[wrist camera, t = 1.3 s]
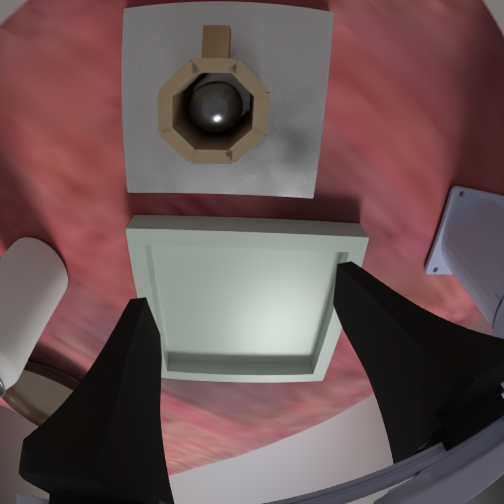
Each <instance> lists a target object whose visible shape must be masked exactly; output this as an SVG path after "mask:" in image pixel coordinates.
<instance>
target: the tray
mask: <svg viewBox="0 0 504 504" xmlns="http://www.w3.org/2000/svg"><path fill="white" fill-rule="evenodd" d="M126 235H127V241H128V248H129V254H130V260H131V265H132V271H133V277H134V282H135V287H136V292H137V297H138V298H142V297H146V299H147V301H148V304H149V307H150V309H151V312H152V314H153V317H154V320H155V322H156V325H157V327H158V330H159V332H160V335H161V350H162V370H161V378H170V379H183V380H198V381H219V382H305V381H323V378H324V376H325V373H326V371H327V368H328V365H329V363H330V360H331V357H332V355H333V352H334V349H335V346H336V344H337V341H338V338H339V335H340V332H341V329H342V326H341V324H340V321H339V318H338V316H337V313H336V311H335V308H334V305H333V297H334V289H335V280H336V270H337V264H339V263H345V262H350V261H352V262H354V263H355V264H357V265H358V266H360V267H361V266H362V262H363V259H364V255H365V252H366V248H367V244H368V241H369V236H368V235H367V233H366V232H365V230H364V229H363V227H362V226H361V224H358V223H342V222H326V221H308V220H289V219H267V218H243V217H213V216H175V215H134V216H133V217H132V219H131V221H130V222H129V224H128V225H127V227H126Z"/></svg>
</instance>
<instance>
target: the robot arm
mask: <svg viewBox="0 0 504 504" xmlns="http://www.w3.org/2000/svg"><path fill="white" fill-rule="evenodd" d="M461 191H462V193H461V195H459V194H460V192H461ZM434 268H435V269H434ZM433 269H434V270H433ZM425 272H426V273H427V274H453V275H454V276H455V277H456V278H457V280H458V281H459V282H460V284H461V285H462V286H463V288H464V289H465V290H466V292H467V293H468V294H469V296H470V297H471V299H472V300H473V301H474V303H475V304H476V305H477V307H478V308H479V310H480V311H481V313H482V314H483V315H484V317H485V318H486V320H487V321H488V323H489V324H490V326H491V327H492V329H493V332H492V334H491V335H486V334H483V333H480V332H476V331H473V330H470V329H467V328H465V327H462V326H459V325H457V324H455V323H452V322H450V321H447V320H445V319H443V318H441V317H439V316H437V315H435V314H433V313H431V312H429V311H427V310H425V309H423V308H421V307H419V306H418V305H416V304H414V303H413V302H411V301H409V300H408V299H406V298H405V297H403V296H401V295H400V294H398V293H397V292H395V291H394V290H392V289H391V288H389V287H388V286H386V285H385V284H384V283H382V282H381V281H379V280H378V279H376V278H375V277H374V276H372V275H371V274H369V273H368V272H367V271H365V270H364V269H362V268H361V267H360V266H358V265H357V264H355V263H354V262H352V261H350V262H345V263H339V264H337V270H336V280H335V289H334V297H333V305H334V308H335V311H336V313H337V316H338V318H339V321H340V324H341V326H342V328H343V330H344V332H345V333H346V335H347V337H348V339H349V341H350V343H351V345H352V346H353V348H354V350H355V352H356V354H357V356H358V358H359V360H360V361H361V363H362V365H363V367H364V369H365V371H366V373H367V376H368V378H369V380H370V383H371V386H372V388H373V391H374V394H375V397H376V399H377V402H378V405H379V408H380V411H381V414H382V418H383V421H384V425H385V428H386V432H387V436H388V440H389V444H390V449H391V453H392V458H393V463H394V465H391V466H389V467H387V468H384V469H382V470H379V471H376V472H374V473H371V474H368V475H366V476H363V477H361V478H358V479H355V480H352V481H349V482H346V483H343V484H339V485H336V486H333V487H330V488H326V489H323V490H319V491H316V492H312V493H308V494H304V495H300V496H296V497H292V498H288V499H283V500H278V501H273V502H269V503H264V504H345V503H349V502H352V501H354V500H357V499H360V498H363V497H366V496H368V495H371V494H373V493H376V492H379V491H381V490H384V489H386V488H388V487H391V486H393V485H395V484H397V483H400V482H402V481H404V480H407V479H409V478H411V477H413V476H414V478H412V479H411V480H409V481H407V482H405V483H403V484H401V485H399V486H397V487H395V488H393V489H391V490H389V491H388V493H387V494H386V495H384V496H383V497H381V498H379V499H378V500H376V501H374V503H373V504H465V503H466V502H467V501H469V500H470V499H472V498H473V497H475V496H476V495H477V494H479V493H480V492H481V491H483V490H484V489H485V488H487V487H488V486H489V485H490V484H492V483H493V482H494V481H496V480H497V479H498V478H499V477H500V476H502V475H503V474H504V196H503V195H499V194H494V193H490V192H485V191H480V190H476V189H471V188H466V187H461V186H454V187H452V189H451V191H450V194H449V198H448V201H447V204H446V208H445V211H444V214H443V217H442V220H441V224H440V227H439V230H438V233H437V235H436V238H435V241H434V244H433V247H432V250H431V252H430V255H429V258H428V260H427V263H426V266H425ZM161 370H162V350H161V335H160V332H159V330H158V327H157V325H156V322H155V320H154V317H153V314H152V312H151V309H150V307H149V304H148V301H147V299H146V297H142V298H136V299H130V301H129V302H128V304H127V306H126V308H125V310H124V311H123V313H122V315H121V317H120V319H119V321H118V323H117V325H116V326H115V328H114V330H113V332H112V334H111V335H110V337H109V339H108V341H107V342H106V344H105V346H104V347H103V349H102V351H101V352H100V354H99V356H98V357H97V359H96V360H95V362H94V364H93V365H92V367H91V368H90V370H89V371H88V372H87V374H86V375H85V377H84V378H83V379H82V381H81V382H80V383H79V385H78V386H77V387H76V388H75V389H74V391H73V392H72V393H71V394H70V395H69V397H68V398H67V399H66V400H65V401H64V402H63V404H62V405H61V406H60V407H59V408H58V409H57V410H56V411H55V412H54V413H53V414H52V415H51V416H50V417H49V418H48V419H47V420H46V421H45V422H44V423H43V424H41V425H40V426H39V427H38V428H37V429H36V430H34V431H33V432H32V433H31V434H30V435H29V436H28V437H26V438H25V439H24V440H23V445H22V451H21V458H20V465H19V474H20V476H21V477H22V478H23V479H25V480H26V481H27V482H29V483H31V484H33V485H35V486H36V487H38V488H40V489H42V490H44V491H45V492H48V493H49V494H50V497H49V500H46V499H43V498H39V497H35V496H30V495H26V494H22V493H18V494H17V502H16V504H174V500H173V496H172V491H171V487H170V483H169V477H168V472H167V466H166V461H165V454H164V447H163V439H162V430H161V420H160V395H161Z"/></svg>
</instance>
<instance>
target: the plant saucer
mask: <svg viewBox="0 0 504 504" xmlns="http://www.w3.org/2000/svg"><path fill="white" fill-rule="evenodd" d="M79 383H80V381H78V380H76V379H75V378H73V377H71V376H69V375H67V374H65V373H63V372H61V371H58V370H56V369H53V368H51V367H48V366H45V365H41V364H38V363H32V362H27V363H26V365H25V367H24V369H23V371H22V373H21V375H20V377H19V379H18V380H17V382H16V383H15V384H14V385H12V386H11V387H9V388H8V389H7V390H6V393H5V395H4V396H3V397H2V399H3V400H4V401H5V402H6V403H7V404H8V405H9V406H10V407H11V408H12V409H14V410H15V411H16V412H17V413H19V414H20V415H21V416H23V417H24V418H25V419H27V420H28V421H30V422H31V423H33V424H35V425H37V426H38V427H39V426H40V425H41V424H43V423H44V422H45V421H46V420H47V419H48V418H49V417H50V416H51V415H52V414H53V413H54V412H55V411H56V410H57V409H58V408H59V407H60V406H61V405H62V404H63V402H64V401H65V400H66V399H67V398H68V397H69V395H70V394H71V393H72V392H73V391H74V389H75V388H76V387H77V386H78V385H79Z"/></svg>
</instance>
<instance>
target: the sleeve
mask: <svg viewBox="0 0 504 504" xmlns="http://www.w3.org/2000/svg"><path fill="white" fill-rule="evenodd" d="M230 46H231V28H230V25H203V38H202V58H192V60H189V61H188V62H186V63H185V64H184V65H183V66H182V67H181V68H180V69H179V70H178V71H177V72H176V73H175V74H174V75H173V76H172V77H171V78H170V79H169V80H168V81H167V82H166V83H165V84H164V85H163V86H162V87H161V88H160V89H159V90H160V92H158V132H162V133H161V134H160V136H161V137H162V138H163V139H164V140H165V141H166V142H167V143H168V144H169V145H170V146H171V147H173V148H174V149H175V150H176V151H177V152H178V153H179V154H180V155H181V156H182V157H183V158H184V159H185V160H186V161H187V162H189V161H190V160H191V163H192V164H232V162H233V163H236V162H237V161H238V160H239V159H240V158H241V157H243V156H244V155H245V154H246V153H247V152H248V151H250V150H251V149H252V148H253V147H254V146H255V145H257V144H258V143H259V142H260V141H261V140H263V139H264V138H265V137H266V136H265V134H267V129H268V116H269V103H270V93H269V92H268V91H269V90H268V89H267V88H266V87H265V86H264V85H263V84H262V82H261V81H260V80H259V79H258V78H257V77H256V76H255V75H254V74H253V73H252V72H251V71H250V70H249V69H248V68H247V67H246V66H245V65H244V64H243V63H242V62H241V61H240V60H239V61H238V60H237V59H230ZM209 73H232V74H233V75H234V76H235V77H236V78H237V79H238V80H239V82H240V83H241V84H242V85H243V86H244V87H245V88H246V89H247V90H248V91H249V92H250V105H249V111H248V112H247V113H246V114H244V115H243V116H242V117H241V118H240V119H239V120H238V122H237V123H236V124H235V125H234V126H233V127H231V128H230V129H228V130H226V131H222V132H208V131H205V130H203V129H201V128H200V127H198V126H197V125H196V124H195V123H194V121H193V120H192V118H191V116H190V112H189V102H190V99H191V96H192V95H193V93H194V87H195V86H196V85H197V84H198V83H199V82H200V81H201V80H202V79H204V78H205V77H206V76H207V75H208V74H209Z"/></svg>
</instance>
